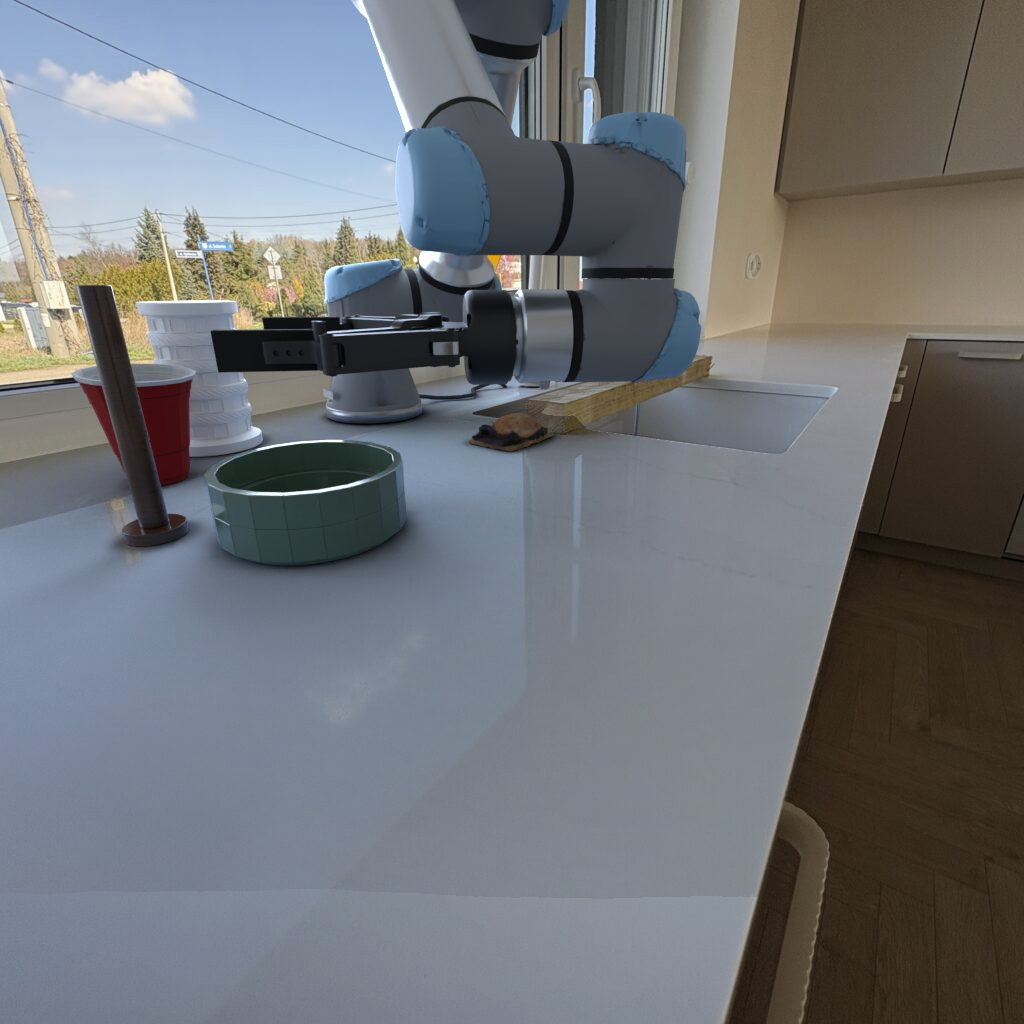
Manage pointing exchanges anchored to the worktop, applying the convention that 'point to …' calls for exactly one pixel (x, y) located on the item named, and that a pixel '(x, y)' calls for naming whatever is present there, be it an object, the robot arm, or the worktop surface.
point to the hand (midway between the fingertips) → (243, 341)
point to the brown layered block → (511, 432)
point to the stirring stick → (127, 420)
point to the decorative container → (203, 372)
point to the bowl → (307, 501)
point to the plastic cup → (152, 413)
